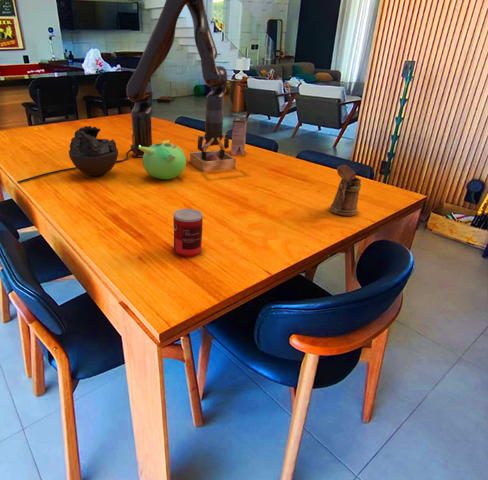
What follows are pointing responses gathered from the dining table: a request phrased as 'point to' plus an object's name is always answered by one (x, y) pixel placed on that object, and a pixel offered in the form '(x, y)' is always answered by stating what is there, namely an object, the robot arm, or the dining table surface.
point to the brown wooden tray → (220, 164)
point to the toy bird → (163, 160)
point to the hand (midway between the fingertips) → (212, 159)
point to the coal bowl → (92, 152)
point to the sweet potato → (211, 157)
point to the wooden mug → (346, 192)
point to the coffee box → (238, 136)
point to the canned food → (188, 232)
